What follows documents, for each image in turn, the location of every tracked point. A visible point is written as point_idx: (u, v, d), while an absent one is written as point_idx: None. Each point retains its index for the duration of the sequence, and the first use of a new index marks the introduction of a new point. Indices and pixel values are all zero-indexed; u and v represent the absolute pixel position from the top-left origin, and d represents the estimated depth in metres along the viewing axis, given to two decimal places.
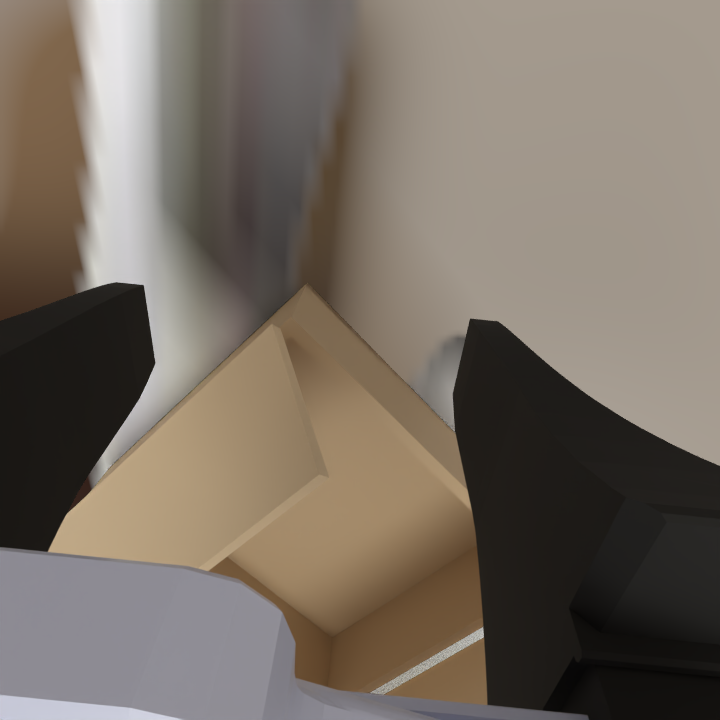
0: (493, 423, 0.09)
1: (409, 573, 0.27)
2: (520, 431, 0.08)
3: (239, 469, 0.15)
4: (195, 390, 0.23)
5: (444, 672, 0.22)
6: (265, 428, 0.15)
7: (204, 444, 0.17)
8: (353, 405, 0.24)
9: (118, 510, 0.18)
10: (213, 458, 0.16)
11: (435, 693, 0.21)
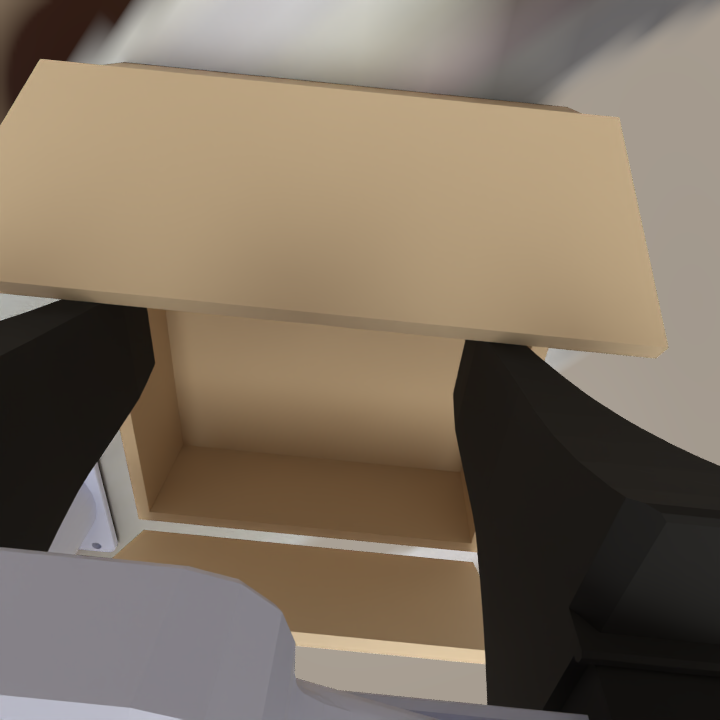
0: (493, 424, 0.09)
1: (322, 445, 0.24)
2: (520, 431, 0.08)
3: (514, 247, 0.10)
4: (348, 88, 0.16)
5: (331, 563, 0.19)
6: (578, 230, 0.10)
7: (450, 173, 0.11)
8: None
9: (230, 137, 0.11)
10: (463, 202, 0.10)
11: (326, 580, 0.18)
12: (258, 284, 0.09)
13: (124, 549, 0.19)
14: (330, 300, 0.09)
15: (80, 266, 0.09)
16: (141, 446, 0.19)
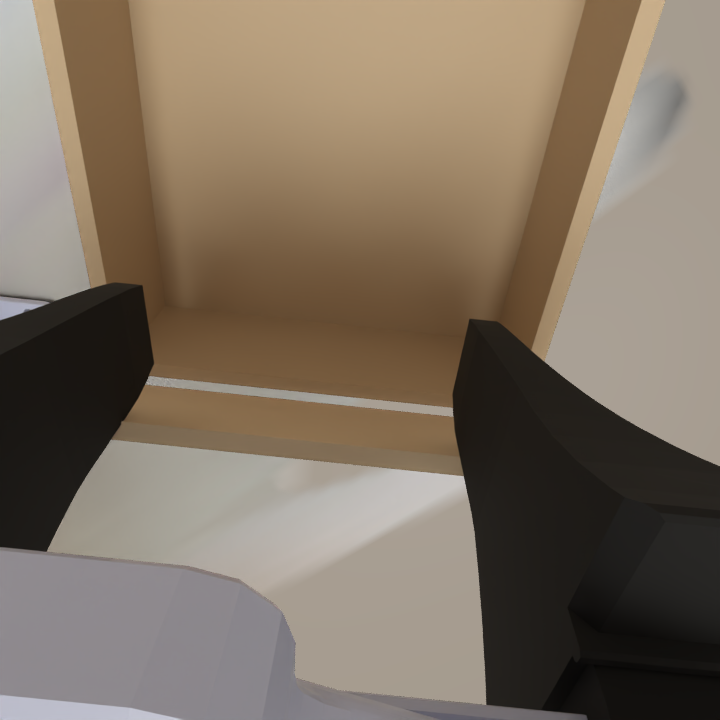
0: (492, 423, 0.09)
1: (331, 304, 0.20)
2: (519, 431, 0.08)
3: None
4: None
5: (345, 411, 0.16)
6: None
7: None
8: (510, 33, 0.15)
9: None
10: None
11: (340, 419, 0.14)
12: None
13: None
14: None
15: None
16: (108, 264, 0.16)
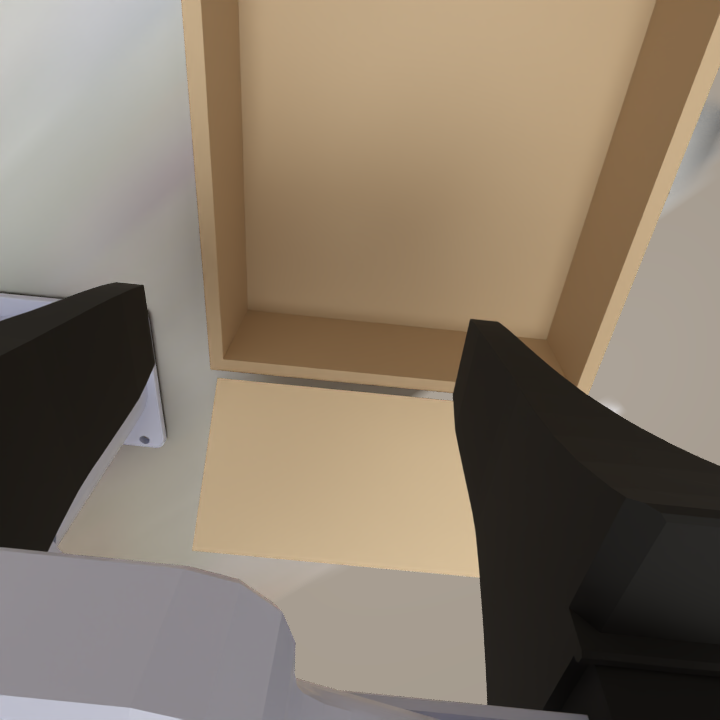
0: (493, 424, 0.09)
1: (399, 307, 0.22)
2: (520, 431, 0.08)
3: None
4: None
5: (422, 434, 0.19)
6: None
7: None
8: (575, 69, 0.17)
9: None
10: None
11: (417, 474, 0.18)
12: None
13: (211, 425, 0.19)
14: None
15: None
16: (220, 274, 0.18)
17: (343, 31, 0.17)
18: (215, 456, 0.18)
